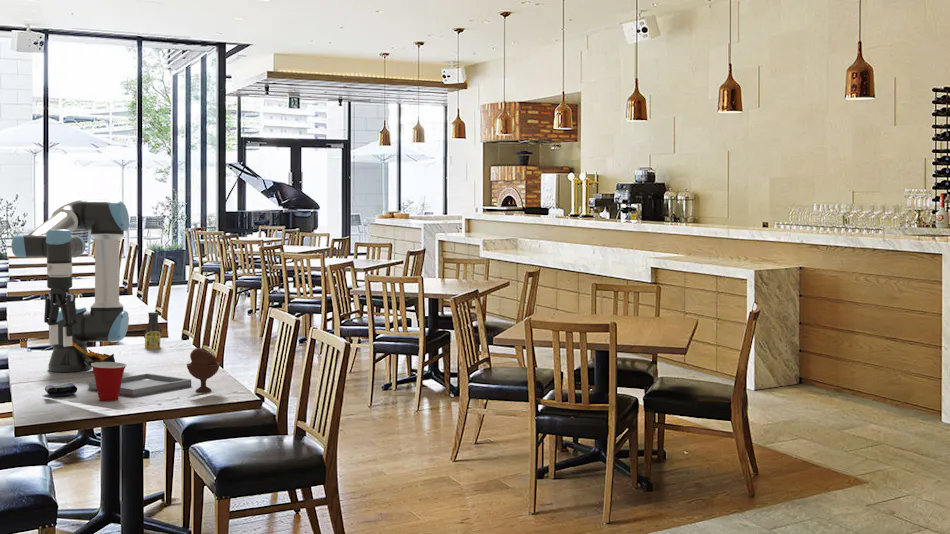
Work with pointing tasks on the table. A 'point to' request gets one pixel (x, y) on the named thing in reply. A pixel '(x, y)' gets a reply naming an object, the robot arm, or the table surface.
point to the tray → (147, 384)
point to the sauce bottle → (152, 332)
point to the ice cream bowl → (202, 367)
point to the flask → (61, 389)
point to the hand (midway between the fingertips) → (60, 345)
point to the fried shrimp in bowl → (94, 356)
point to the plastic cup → (108, 379)
